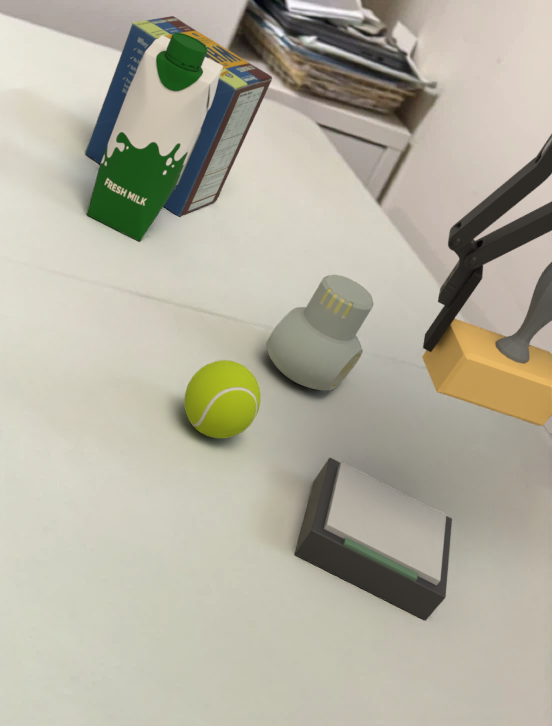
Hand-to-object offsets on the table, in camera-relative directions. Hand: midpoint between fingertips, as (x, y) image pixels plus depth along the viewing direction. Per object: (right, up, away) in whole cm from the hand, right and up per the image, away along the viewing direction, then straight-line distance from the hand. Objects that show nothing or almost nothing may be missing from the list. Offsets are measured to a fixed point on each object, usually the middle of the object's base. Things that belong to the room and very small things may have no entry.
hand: (492, 376), depth 88 cm
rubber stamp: (-1, -1, +1) cm, 2 cm away
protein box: (-21, +41, +51) cm, 69 cm away
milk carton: (-26, +31, +41) cm, 58 cm away
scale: (-6, -12, +13) cm, 18 cm away
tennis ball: (-20, 0, +17) cm, 26 cm away
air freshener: (-7, +10, +31) cm, 33 cm away
